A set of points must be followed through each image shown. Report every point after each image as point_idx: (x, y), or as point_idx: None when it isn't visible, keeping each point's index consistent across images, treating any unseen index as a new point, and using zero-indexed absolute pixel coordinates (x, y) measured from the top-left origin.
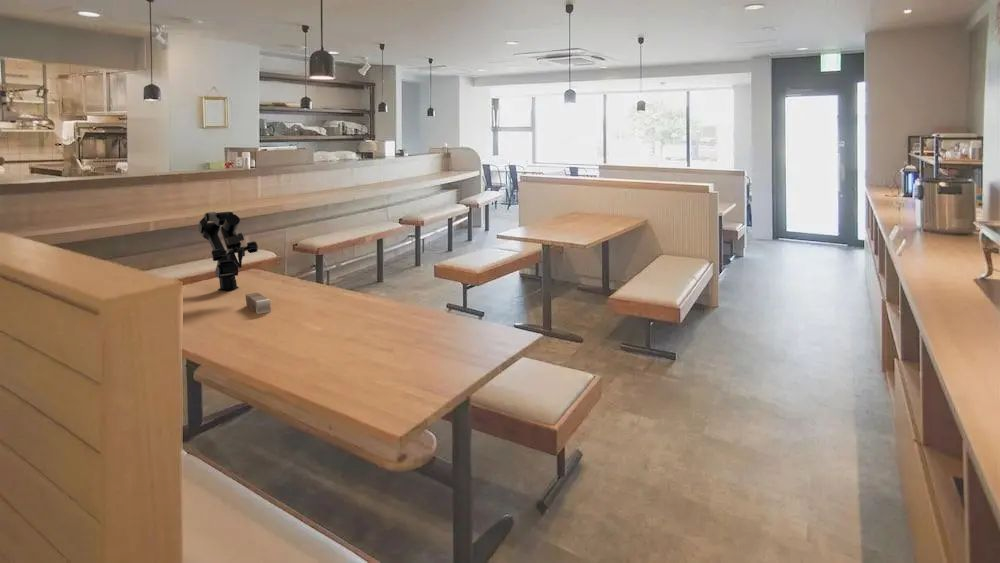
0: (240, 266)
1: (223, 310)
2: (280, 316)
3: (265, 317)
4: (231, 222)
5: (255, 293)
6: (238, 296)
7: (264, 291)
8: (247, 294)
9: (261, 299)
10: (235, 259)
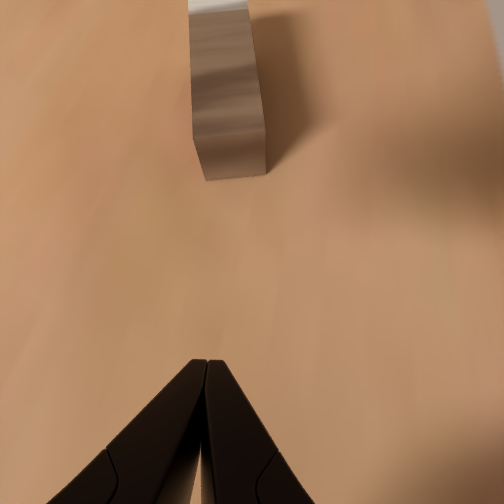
0: (204, 362)
1: (375, 162)
2: None
3: None
4: None
5: (210, 125)
6: None
7: None
8: (255, 124)
9: (218, 15)
10: (263, 480)
